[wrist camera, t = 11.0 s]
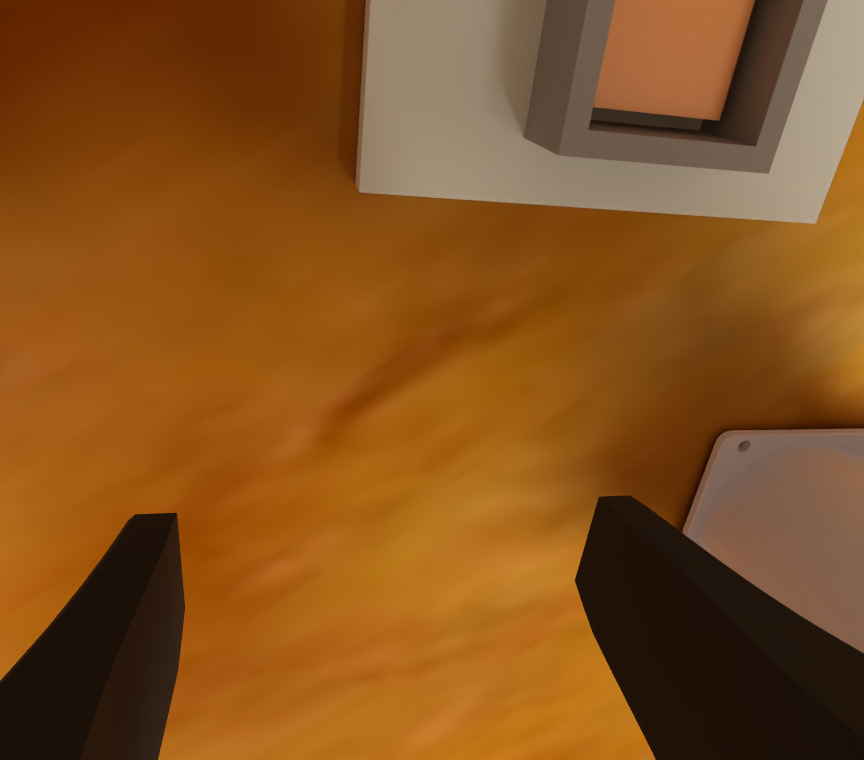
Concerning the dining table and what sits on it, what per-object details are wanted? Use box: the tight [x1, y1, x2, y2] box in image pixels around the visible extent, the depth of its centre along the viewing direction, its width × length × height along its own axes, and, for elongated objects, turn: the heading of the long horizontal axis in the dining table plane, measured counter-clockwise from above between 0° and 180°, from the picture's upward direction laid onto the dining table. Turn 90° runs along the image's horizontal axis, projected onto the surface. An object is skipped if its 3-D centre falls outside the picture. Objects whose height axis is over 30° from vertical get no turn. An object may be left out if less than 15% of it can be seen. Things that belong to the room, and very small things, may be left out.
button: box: [593, 0, 755, 121], centre depth 16 cm, size 4×4×1 cm
